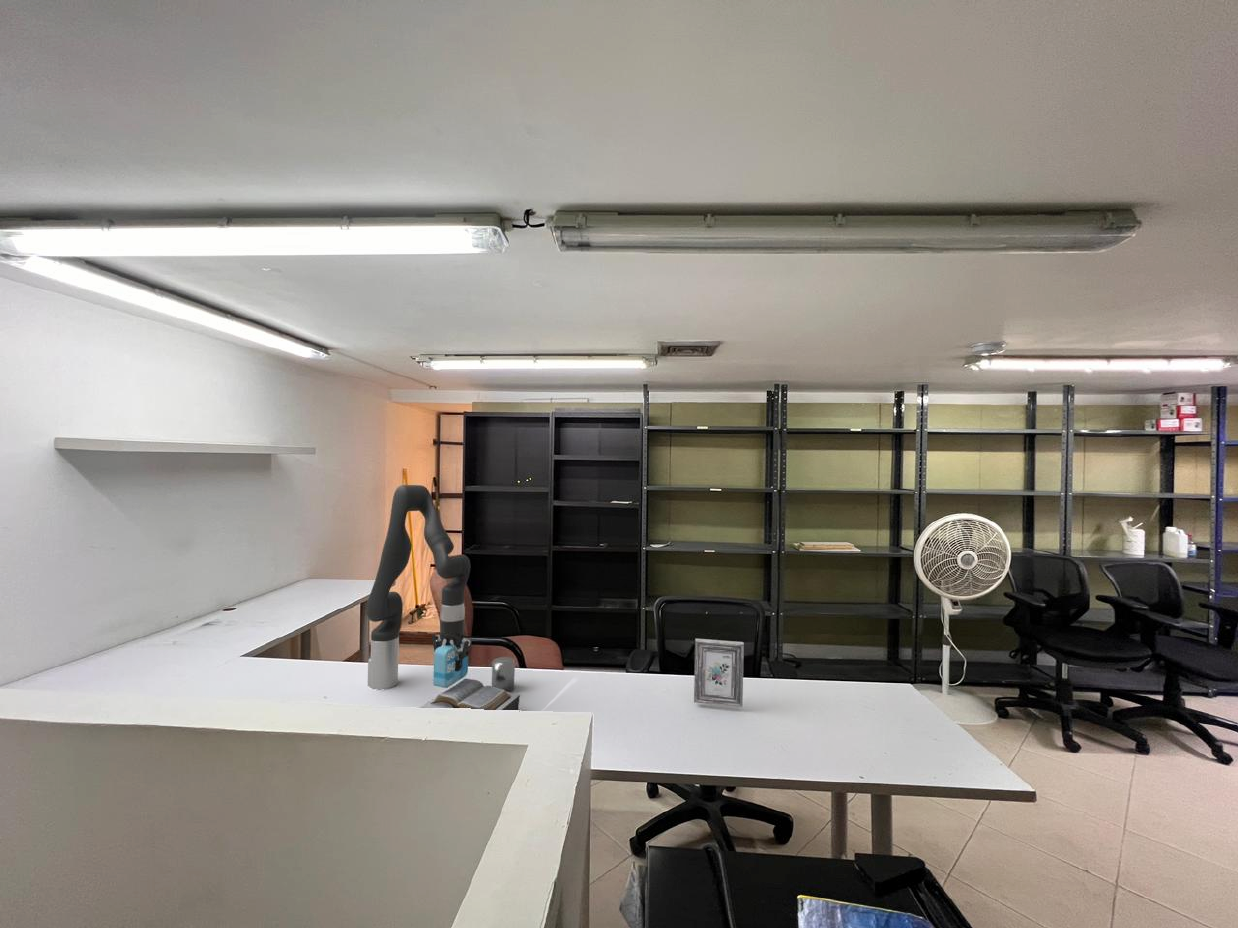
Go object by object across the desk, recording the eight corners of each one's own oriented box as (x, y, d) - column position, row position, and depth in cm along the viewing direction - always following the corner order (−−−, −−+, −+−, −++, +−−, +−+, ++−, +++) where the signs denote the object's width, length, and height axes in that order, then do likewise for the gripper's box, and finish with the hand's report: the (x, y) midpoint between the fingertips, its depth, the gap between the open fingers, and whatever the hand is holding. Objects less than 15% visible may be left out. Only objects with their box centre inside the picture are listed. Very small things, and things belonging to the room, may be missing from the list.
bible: (470, 695, 172) (471, 667, 172) (528, 717, 158) (529, 686, 158) (412, 723, 153) (413, 692, 153) (472, 752, 138) (472, 717, 138)
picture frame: (693, 702, 170) (695, 640, 170) (693, 699, 172) (695, 638, 172) (742, 707, 167) (744, 644, 167) (742, 704, 170) (743, 641, 170)
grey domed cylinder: (487, 691, 174) (487, 663, 174) (499, 682, 182) (499, 655, 182) (507, 695, 172) (507, 666, 172) (518, 685, 180) (518, 658, 180)
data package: (444, 689, 153) (445, 651, 153) (432, 687, 154) (433, 649, 154) (468, 674, 164) (468, 638, 164) (456, 672, 166) (457, 637, 166)
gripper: (426, 617, 158) (424, 670, 158) (464, 622, 153) (463, 677, 153) (441, 611, 165) (439, 661, 165) (478, 616, 161) (476, 667, 160)
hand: (451, 668), depth 159 cm, fingers open, 5 cm apart
